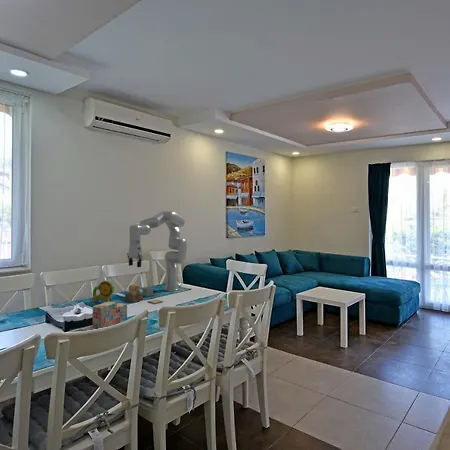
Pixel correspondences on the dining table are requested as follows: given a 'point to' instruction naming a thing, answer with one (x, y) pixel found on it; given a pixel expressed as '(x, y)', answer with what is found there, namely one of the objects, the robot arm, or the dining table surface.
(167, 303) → the dining table surface
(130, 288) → the honey cube
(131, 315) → the dining table surface
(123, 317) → the stack of blocks
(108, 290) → the toy lion
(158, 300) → the mat
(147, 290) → the grey cube
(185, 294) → the dining table surface
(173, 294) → the dining table surface
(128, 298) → the walnut block
